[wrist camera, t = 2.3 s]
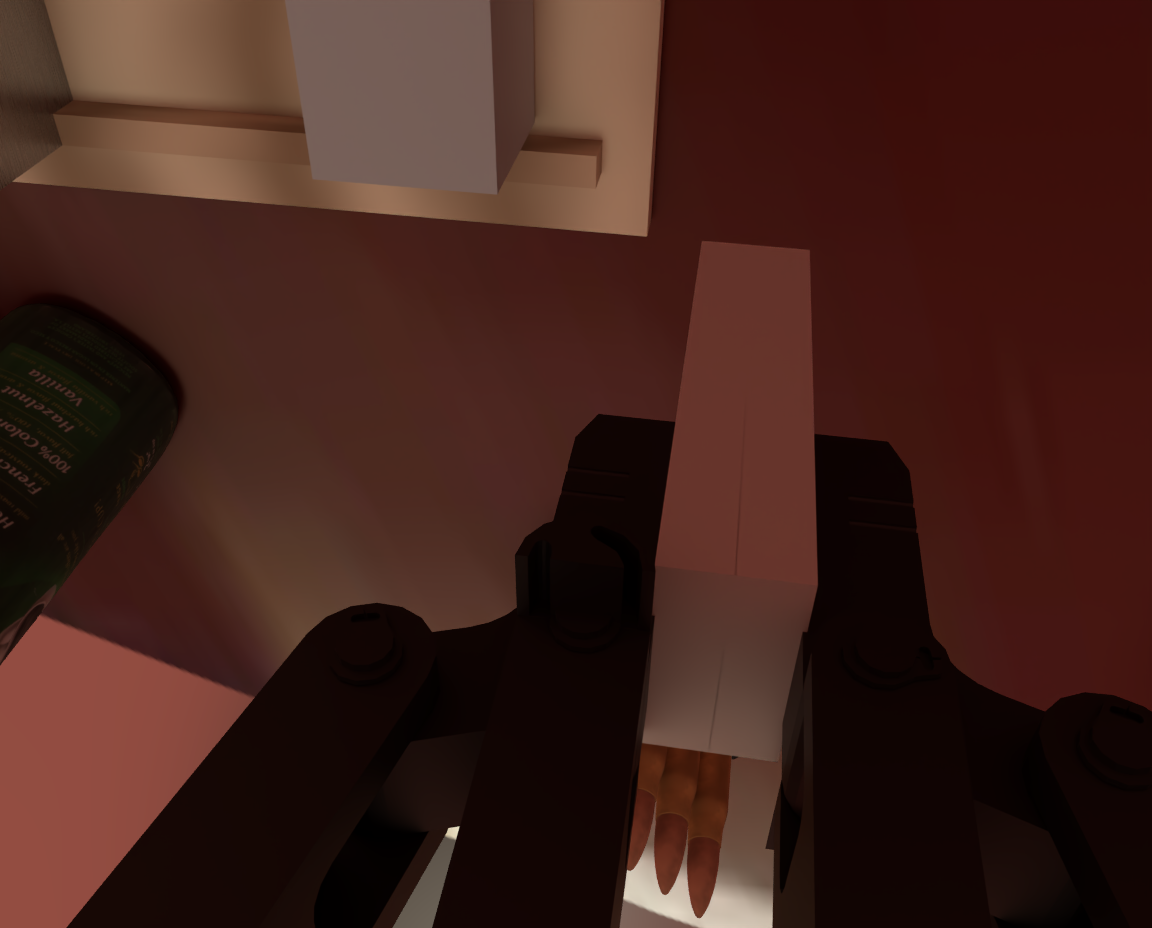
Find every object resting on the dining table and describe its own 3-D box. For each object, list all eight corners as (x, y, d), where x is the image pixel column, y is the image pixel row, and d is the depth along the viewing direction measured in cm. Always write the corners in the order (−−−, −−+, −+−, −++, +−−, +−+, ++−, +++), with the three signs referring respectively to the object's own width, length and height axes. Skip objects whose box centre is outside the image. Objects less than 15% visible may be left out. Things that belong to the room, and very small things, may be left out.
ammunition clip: (546, 542, 44) (480, 788, 35) (576, 522, 43) (516, 770, 34) (716, 680, 48) (697, 936, 38) (748, 664, 46) (736, 923, 37)
